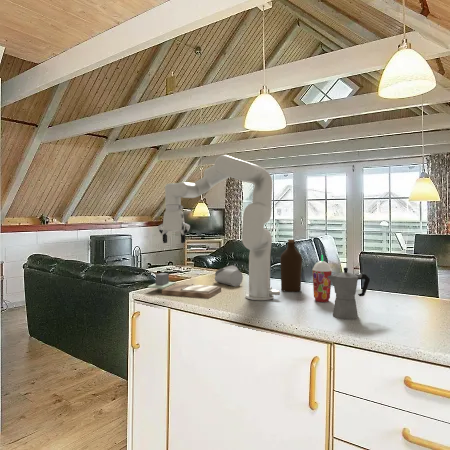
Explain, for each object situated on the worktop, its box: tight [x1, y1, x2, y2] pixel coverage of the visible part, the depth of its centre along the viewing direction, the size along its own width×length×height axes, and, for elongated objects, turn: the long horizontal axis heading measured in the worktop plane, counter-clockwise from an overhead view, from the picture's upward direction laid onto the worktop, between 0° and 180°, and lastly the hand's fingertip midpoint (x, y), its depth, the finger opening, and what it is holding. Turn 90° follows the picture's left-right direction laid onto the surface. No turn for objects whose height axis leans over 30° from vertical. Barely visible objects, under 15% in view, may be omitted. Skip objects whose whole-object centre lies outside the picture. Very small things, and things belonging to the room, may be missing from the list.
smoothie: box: [311, 254, 333, 303], centre depth 162 cm, size 8×8×20 cm
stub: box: [147, 272, 177, 290], centre depth 183 cm, size 8×13×6 cm, turn 161°
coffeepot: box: [327, 267, 371, 320], centre depth 137 cm, size 15×9×18 cm, turn 89°
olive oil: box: [279, 239, 303, 293], centre depth 184 cm, size 11×11×25 cm
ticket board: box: [161, 283, 222, 299], centre depth 178 cm, size 24×16×3 cm, turn 71°
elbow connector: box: [214, 264, 244, 287], centre depth 205 cm, size 18×10×20 cm
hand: (174, 242), depth 186 cm, fingers open, 9 cm apart
